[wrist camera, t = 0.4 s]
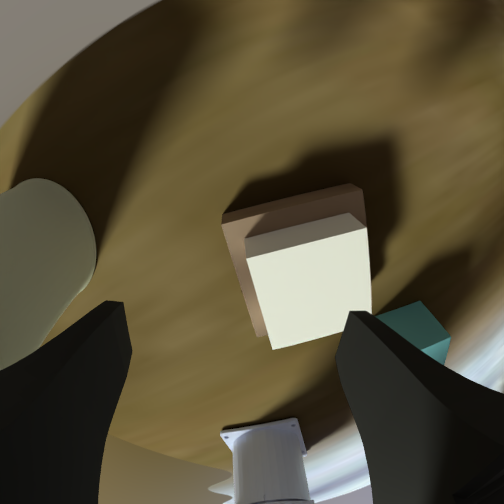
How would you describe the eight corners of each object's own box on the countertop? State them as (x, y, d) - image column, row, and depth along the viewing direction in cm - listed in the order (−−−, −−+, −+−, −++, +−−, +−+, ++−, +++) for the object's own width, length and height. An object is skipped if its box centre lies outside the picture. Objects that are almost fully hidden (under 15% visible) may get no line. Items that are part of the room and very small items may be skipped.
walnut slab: (359, 287, 21) (372, 305, 19) (254, 315, 22) (257, 337, 19) (346, 181, 18) (362, 189, 16) (222, 211, 18) (221, 224, 16)
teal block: (415, 339, 23) (440, 376, 19) (371, 355, 24) (393, 396, 19) (419, 300, 22) (451, 336, 17) (371, 316, 22) (398, 359, 17)
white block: (357, 299, 19) (371, 322, 16) (268, 323, 19) (272, 349, 17) (349, 212, 16) (366, 227, 14) (244, 238, 16) (246, 258, 14)
